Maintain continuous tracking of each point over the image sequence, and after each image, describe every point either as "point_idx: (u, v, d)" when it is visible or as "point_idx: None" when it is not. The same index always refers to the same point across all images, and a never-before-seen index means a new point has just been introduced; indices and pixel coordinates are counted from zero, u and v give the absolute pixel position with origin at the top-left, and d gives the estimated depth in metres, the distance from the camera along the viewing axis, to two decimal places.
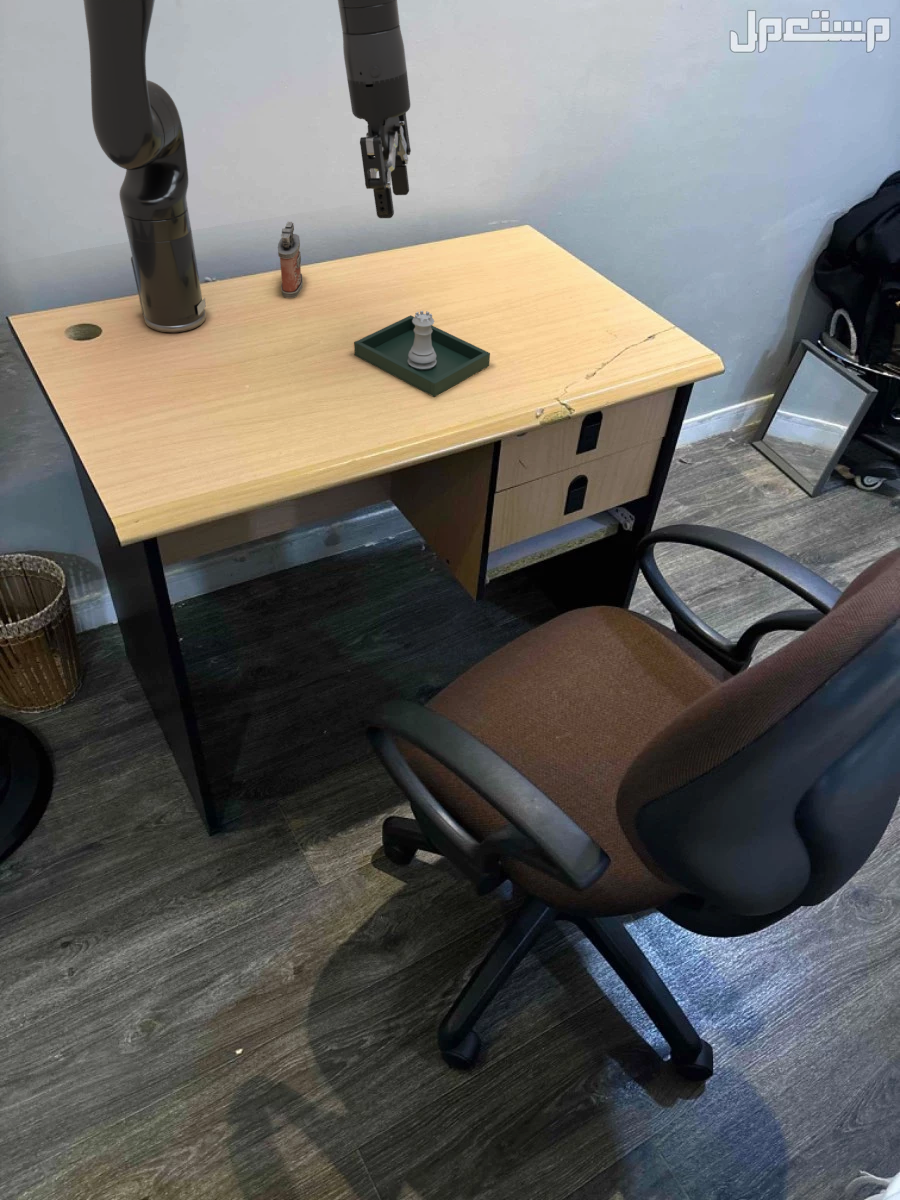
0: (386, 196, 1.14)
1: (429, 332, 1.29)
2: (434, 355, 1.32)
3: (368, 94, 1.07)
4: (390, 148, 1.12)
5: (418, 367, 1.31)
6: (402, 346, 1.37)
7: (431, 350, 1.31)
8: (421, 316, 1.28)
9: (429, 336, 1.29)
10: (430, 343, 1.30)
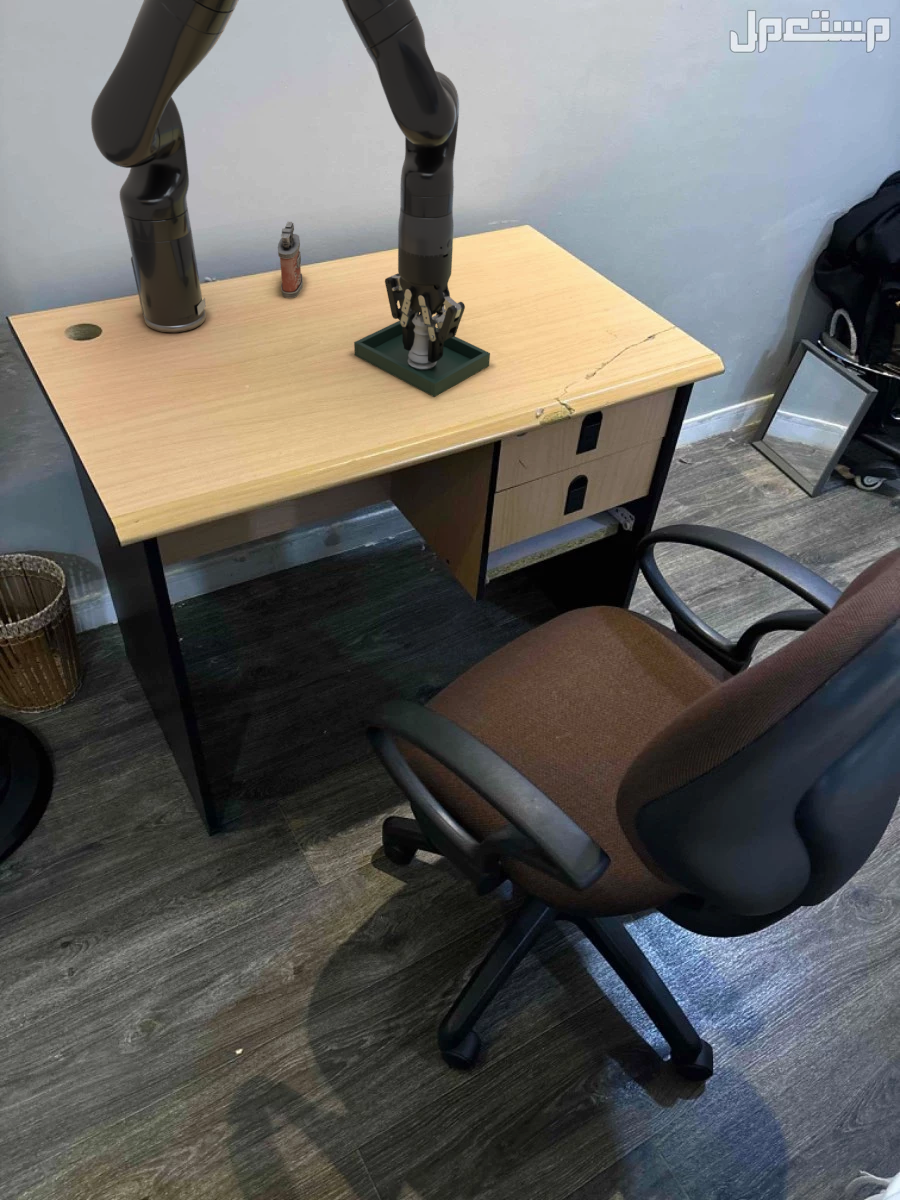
0: None
1: None
2: None
3: (444, 263, 1.19)
4: None
5: (418, 367, 1.31)
6: (402, 346, 1.37)
7: None
8: (421, 316, 1.28)
9: None
10: None
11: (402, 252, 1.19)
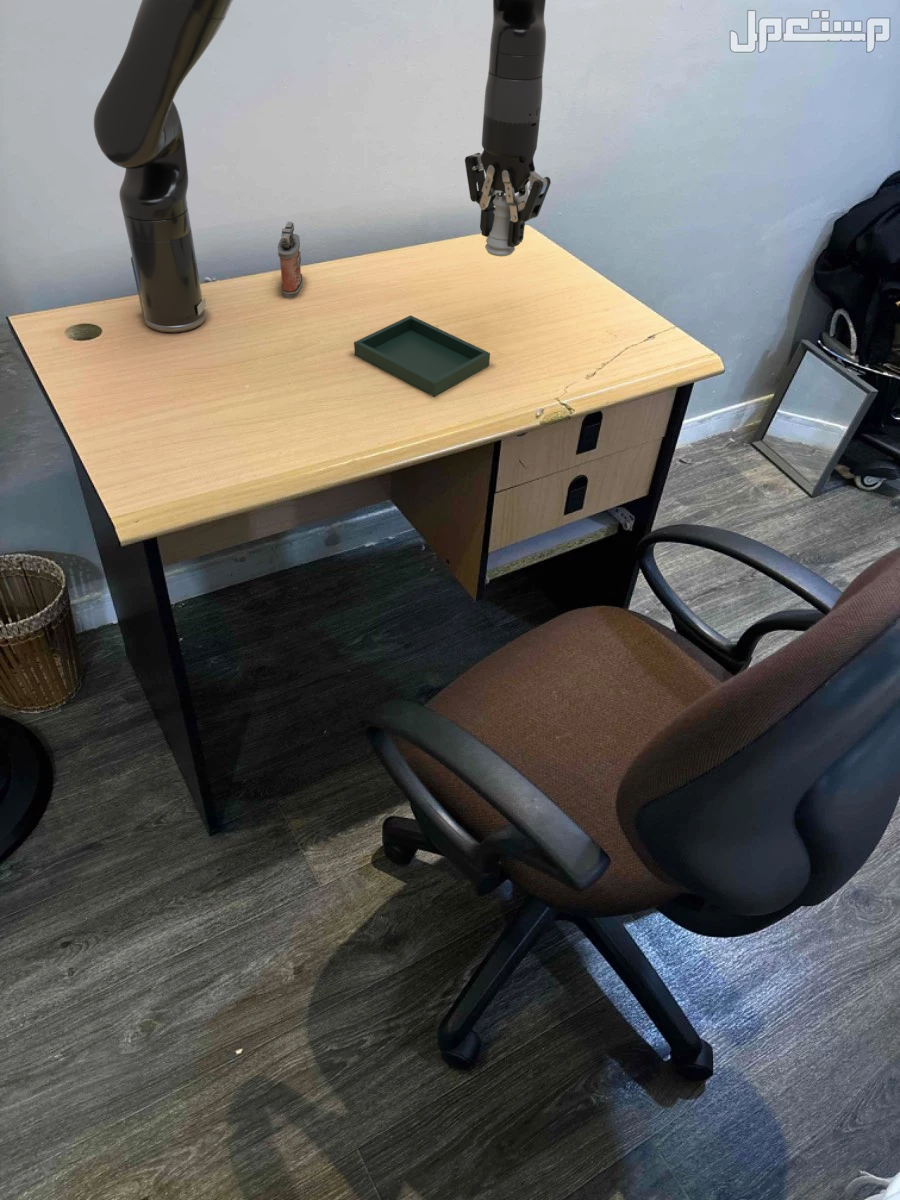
0: None
1: (510, 214, 1.24)
2: None
3: (531, 132, 1.15)
4: None
5: (497, 252, 1.27)
6: (402, 346, 1.37)
7: None
8: (502, 196, 1.24)
9: (509, 218, 1.25)
10: None
11: (488, 121, 1.15)
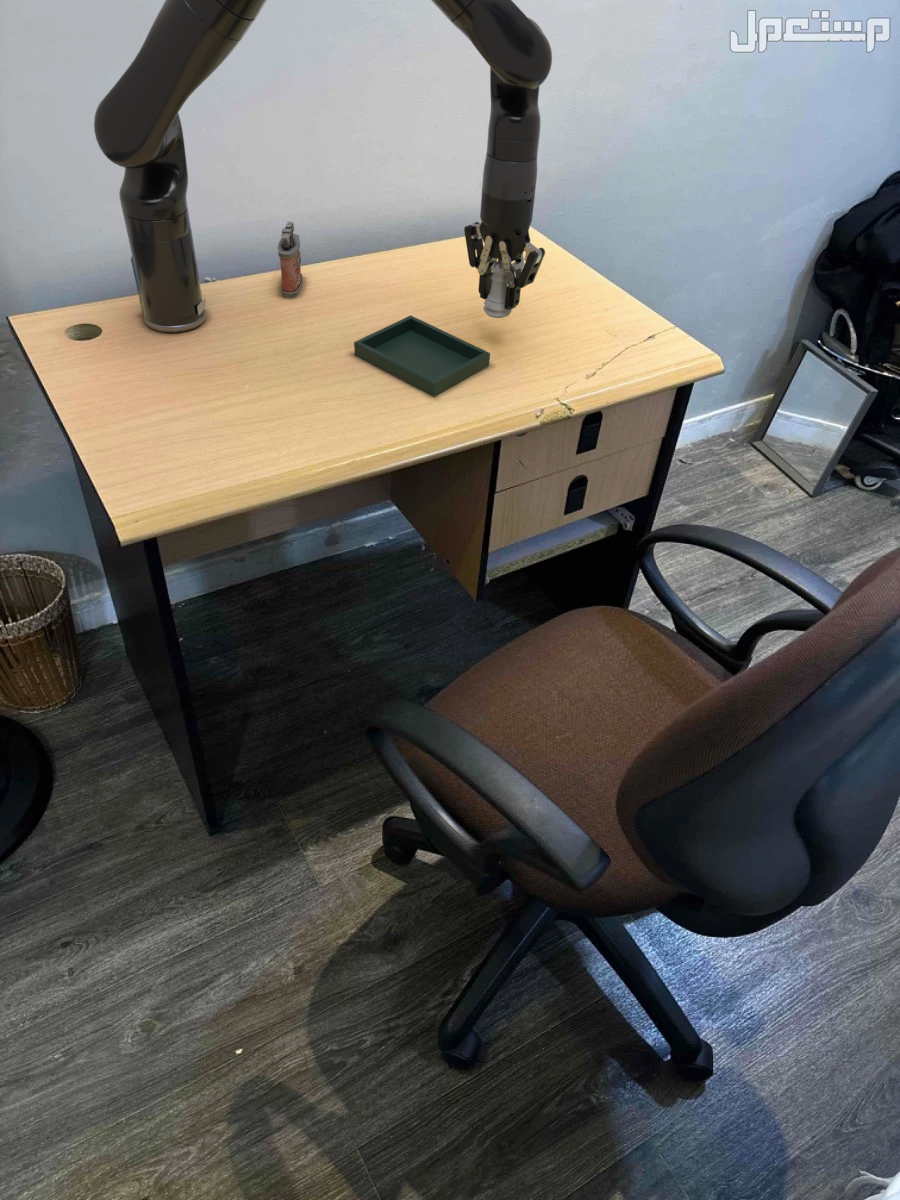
0: None
1: None
2: None
3: (527, 208, 1.23)
4: None
5: (494, 315, 1.34)
6: (402, 346, 1.37)
7: None
8: (499, 263, 1.31)
9: (506, 283, 1.32)
10: None
11: (487, 197, 1.22)
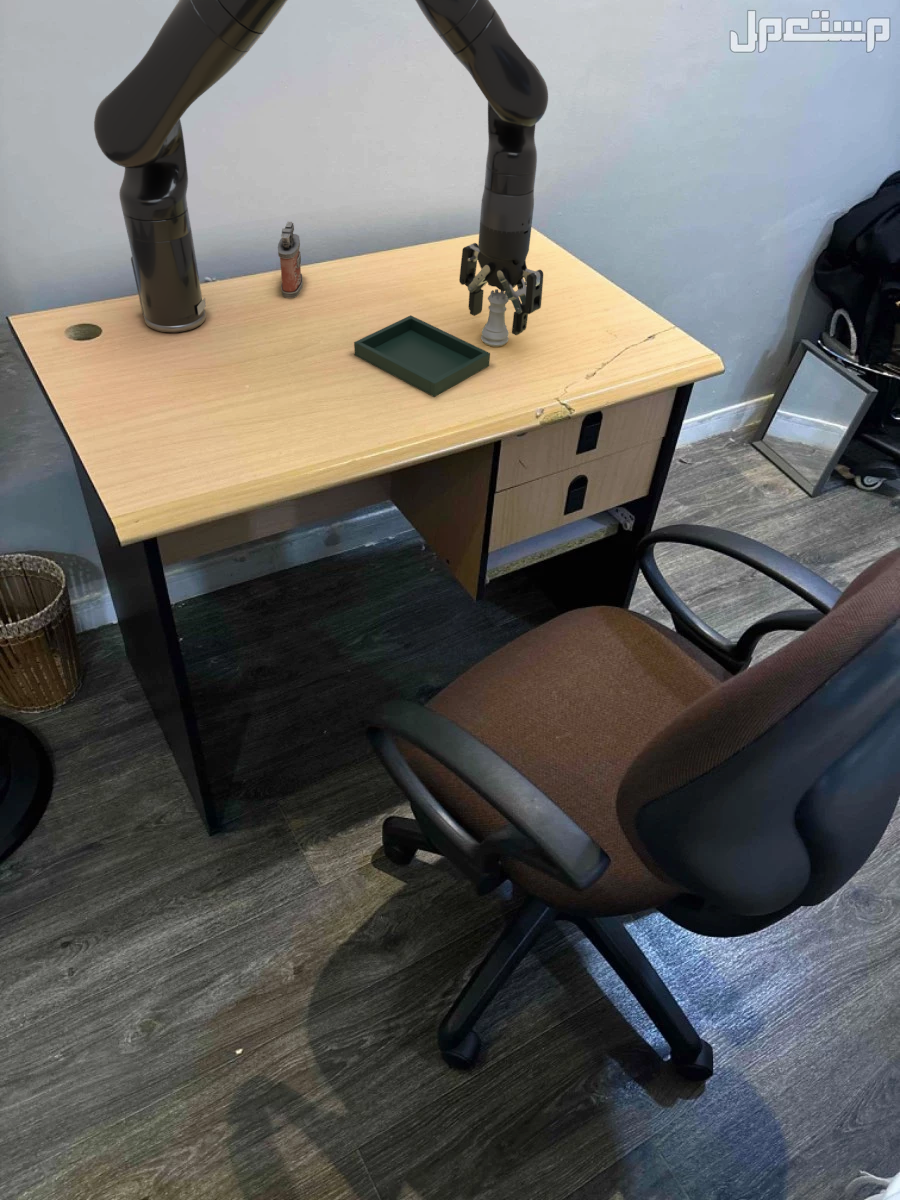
0: None
1: (503, 310, 1.35)
2: (507, 332, 1.38)
3: (524, 239, 1.26)
4: None
5: (492, 343, 1.38)
6: (402, 346, 1.37)
7: (504, 327, 1.37)
8: (496, 294, 1.34)
9: (503, 313, 1.36)
10: (503, 320, 1.37)
11: (485, 228, 1.25)
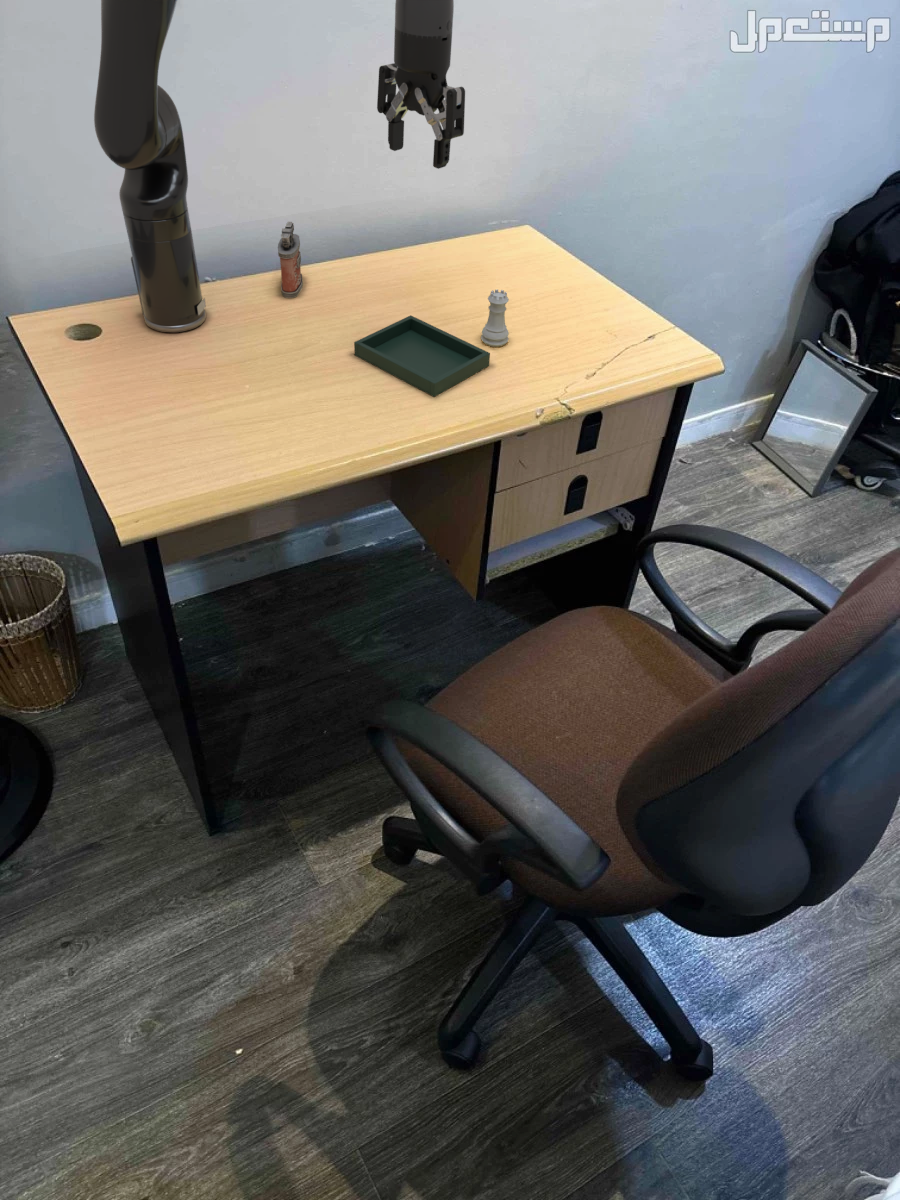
0: None
1: (503, 310, 1.35)
2: (507, 332, 1.38)
3: (442, 48, 1.13)
4: None
5: (492, 343, 1.38)
6: (402, 346, 1.37)
7: (504, 327, 1.37)
8: (496, 294, 1.34)
9: (503, 313, 1.36)
10: (503, 320, 1.37)
11: (399, 34, 1.12)
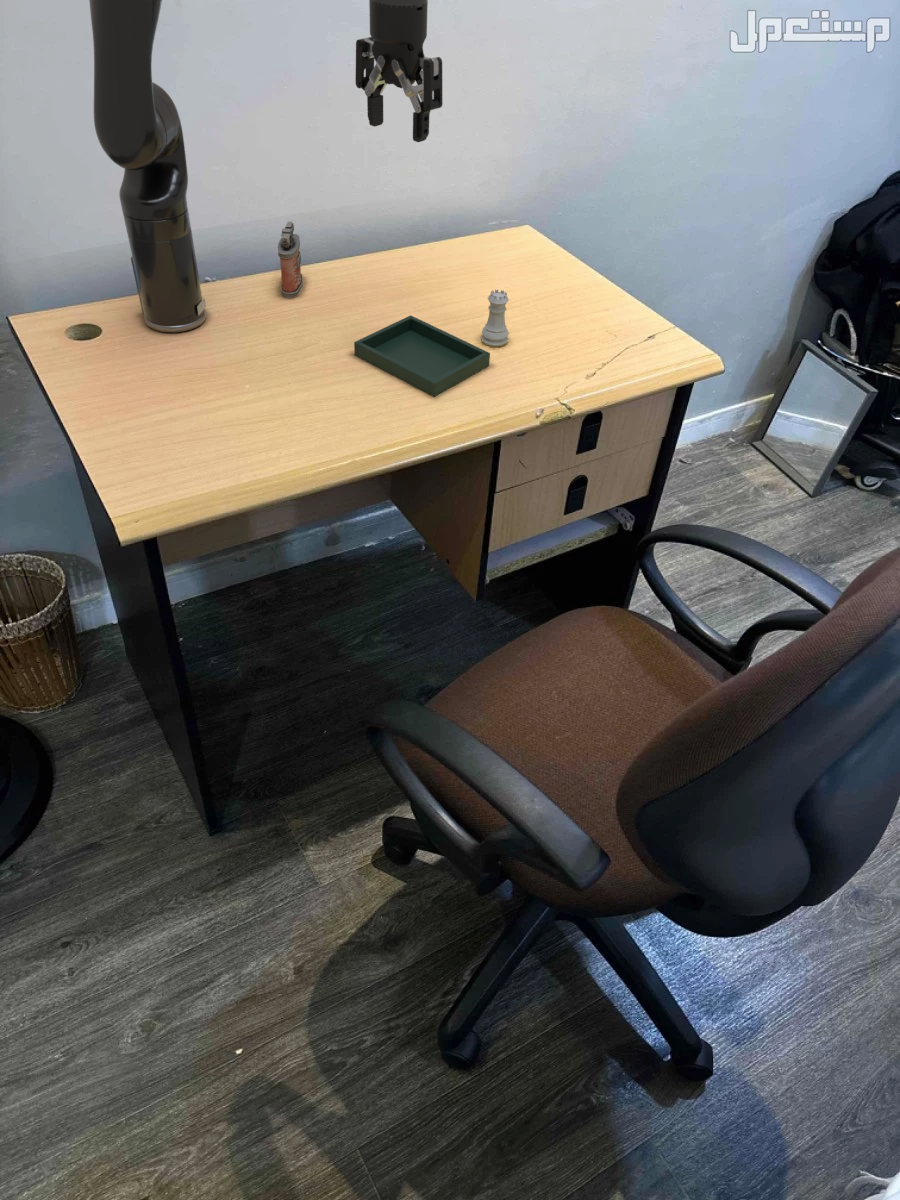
0: None
1: (503, 310, 1.35)
2: (507, 332, 1.38)
3: (418, 17, 1.12)
4: (419, 71, 1.18)
5: (492, 343, 1.38)
6: (402, 346, 1.37)
7: (504, 327, 1.37)
8: (496, 294, 1.34)
9: (503, 313, 1.36)
10: (503, 320, 1.37)
11: (373, 5, 1.11)
